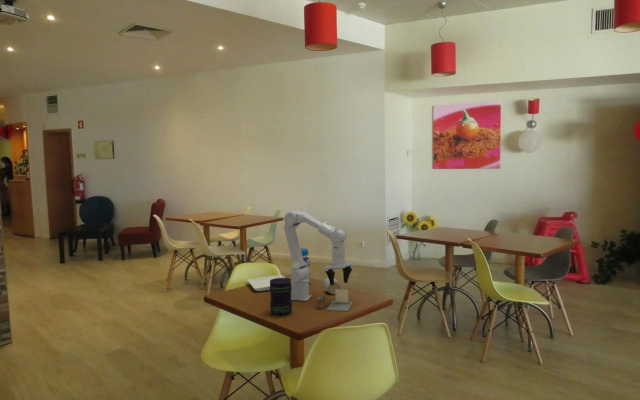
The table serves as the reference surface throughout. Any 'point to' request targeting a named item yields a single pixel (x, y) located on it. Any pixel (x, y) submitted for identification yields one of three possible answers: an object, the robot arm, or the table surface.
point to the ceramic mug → (331, 288)
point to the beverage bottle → (306, 259)
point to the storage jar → (280, 296)
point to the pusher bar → (320, 302)
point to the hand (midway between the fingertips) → (338, 283)
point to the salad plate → (262, 282)
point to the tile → (341, 295)
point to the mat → (340, 306)
